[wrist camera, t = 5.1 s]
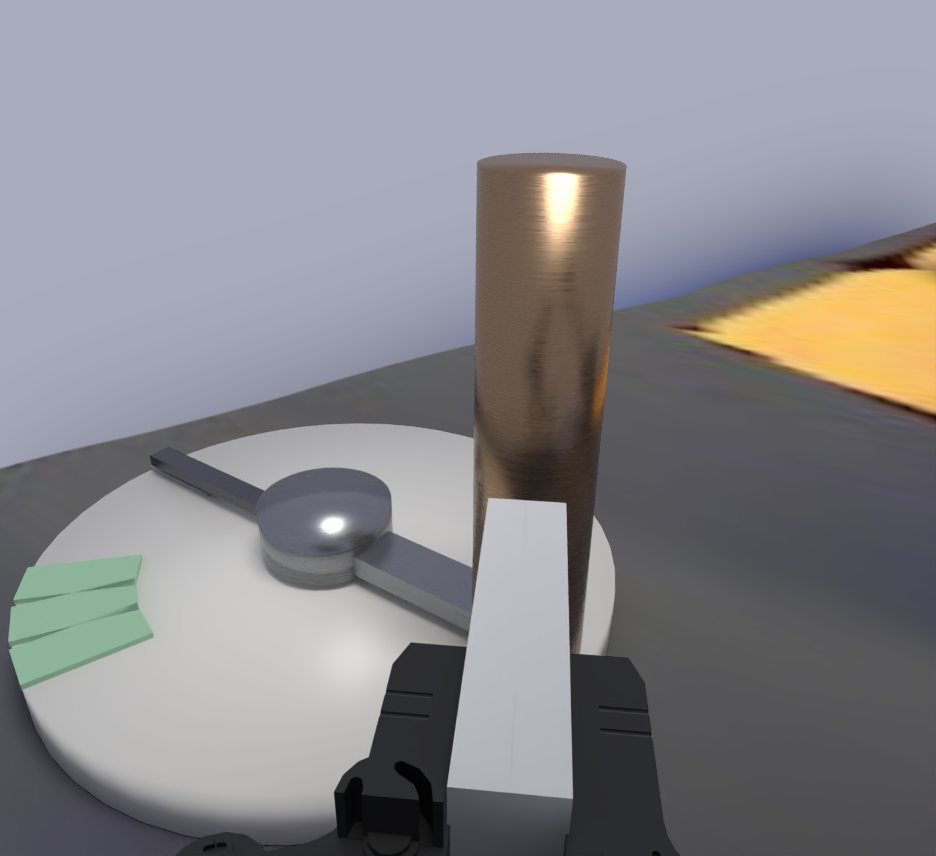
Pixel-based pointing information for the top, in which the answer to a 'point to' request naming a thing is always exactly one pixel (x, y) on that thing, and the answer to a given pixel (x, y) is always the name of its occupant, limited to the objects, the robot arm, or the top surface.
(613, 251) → the crank handle
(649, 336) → the top surface
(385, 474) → the round white plate
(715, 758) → the top surface
